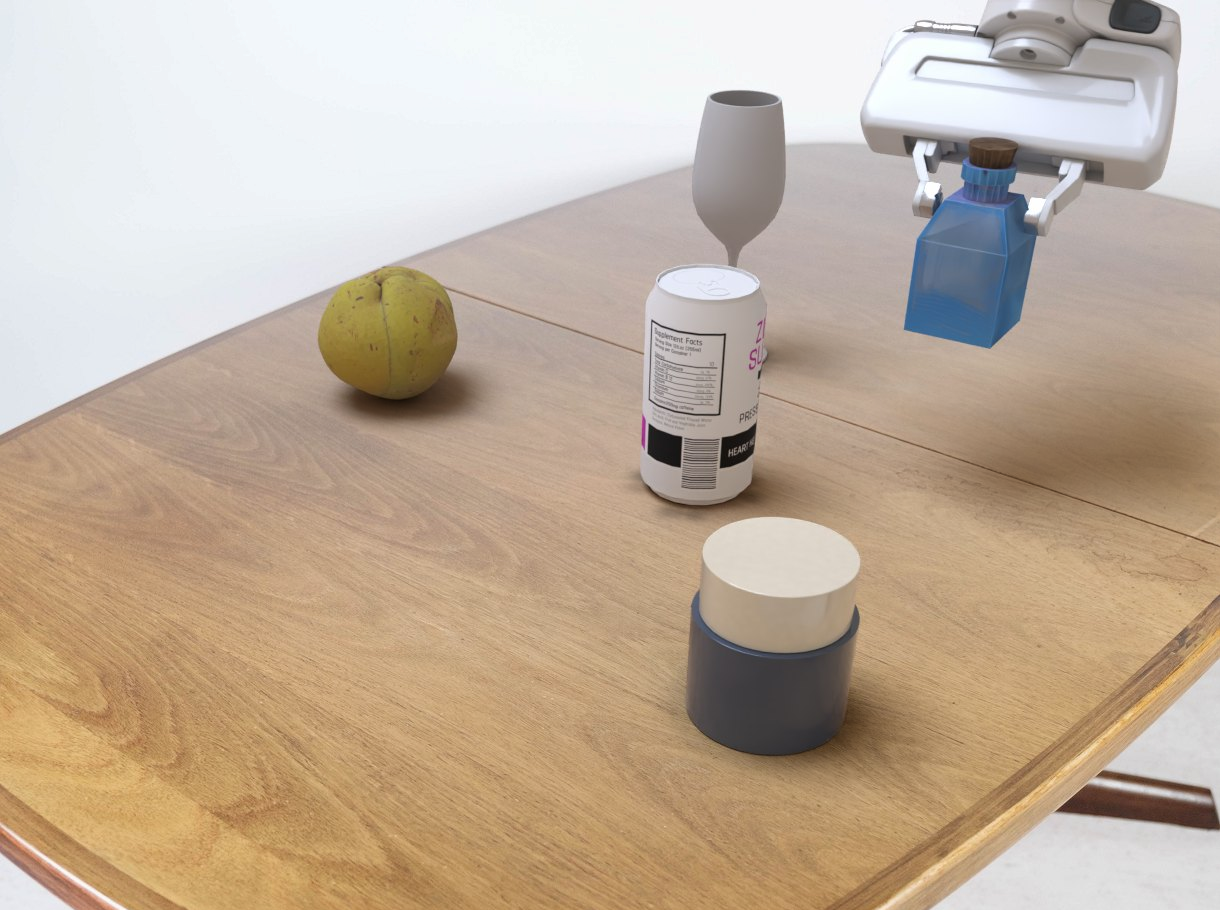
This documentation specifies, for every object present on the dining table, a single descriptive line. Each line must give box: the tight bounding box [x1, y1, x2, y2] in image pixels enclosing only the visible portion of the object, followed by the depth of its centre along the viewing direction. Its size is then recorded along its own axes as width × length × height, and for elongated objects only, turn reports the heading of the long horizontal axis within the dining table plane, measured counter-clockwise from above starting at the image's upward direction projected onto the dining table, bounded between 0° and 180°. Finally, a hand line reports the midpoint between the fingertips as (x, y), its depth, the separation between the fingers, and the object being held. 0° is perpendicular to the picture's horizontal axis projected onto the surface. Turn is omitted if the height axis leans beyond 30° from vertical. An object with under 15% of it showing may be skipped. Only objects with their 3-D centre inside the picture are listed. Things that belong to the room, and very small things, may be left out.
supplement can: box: [640, 263, 768, 506], centre depth 94 cm, size 8×8×15 cm
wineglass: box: [691, 89, 787, 363], centre depth 112 cm, size 8×8×21 cm
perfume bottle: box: [903, 137, 1038, 350], centre depth 89 cm, size 6×6×12 cm
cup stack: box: [684, 516, 862, 756], centre depth 74 cm, size 9×9×10 cm
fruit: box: [317, 266, 459, 400], centre depth 107 cm, size 11×12×10 cm
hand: (978, 222), depth 88 cm, fingers closed on perfume bottle, 6 cm apart
